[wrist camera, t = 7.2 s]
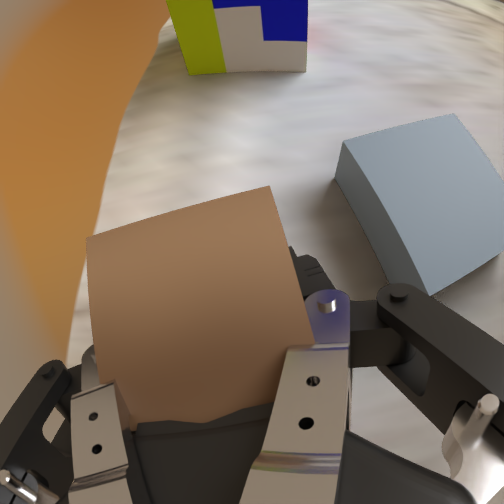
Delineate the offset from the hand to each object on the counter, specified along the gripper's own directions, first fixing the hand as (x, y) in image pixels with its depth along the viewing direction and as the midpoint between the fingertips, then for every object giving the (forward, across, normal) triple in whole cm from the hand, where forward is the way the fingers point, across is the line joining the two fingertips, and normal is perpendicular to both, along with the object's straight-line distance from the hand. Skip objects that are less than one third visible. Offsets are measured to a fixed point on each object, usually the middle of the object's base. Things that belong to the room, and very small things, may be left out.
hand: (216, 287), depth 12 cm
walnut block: (+2, 0, +5) cm, 5 cm away
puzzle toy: (+20, -6, -13) cm, 25 cm away
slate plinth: (+5, -13, +2) cm, 14 cm away
